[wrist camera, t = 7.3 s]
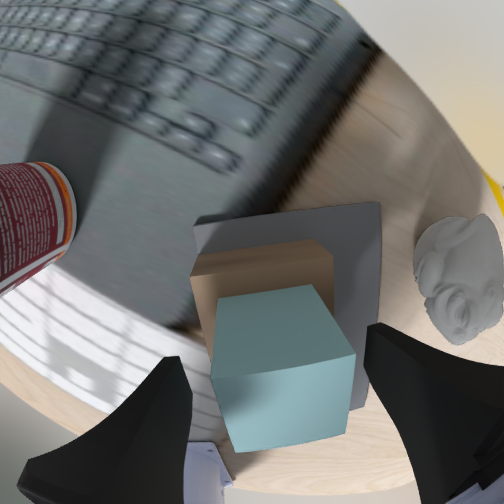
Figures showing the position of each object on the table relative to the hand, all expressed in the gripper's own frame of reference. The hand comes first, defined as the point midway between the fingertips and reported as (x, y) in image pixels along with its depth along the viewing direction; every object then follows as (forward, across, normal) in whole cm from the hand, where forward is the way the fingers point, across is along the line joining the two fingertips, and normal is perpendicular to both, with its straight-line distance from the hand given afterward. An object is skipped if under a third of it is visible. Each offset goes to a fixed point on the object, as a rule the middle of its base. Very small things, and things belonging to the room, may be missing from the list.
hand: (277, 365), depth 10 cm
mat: (+6, -2, +3) cm, 7 cm away
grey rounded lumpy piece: (+6, -11, -1) cm, 13 cm away
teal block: (+2, 0, 0) cm, 3 cm away
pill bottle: (+6, +12, -7) cm, 16 cm away
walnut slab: (+6, 0, 0) cm, 6 cm away
